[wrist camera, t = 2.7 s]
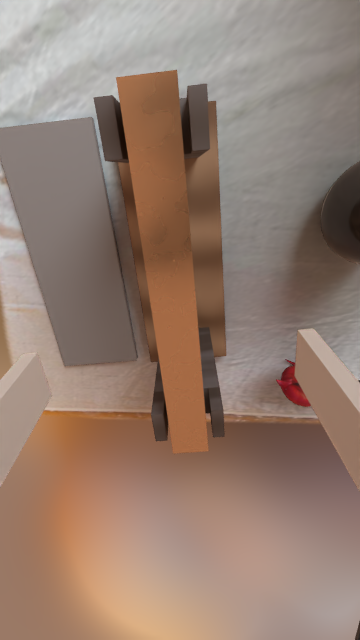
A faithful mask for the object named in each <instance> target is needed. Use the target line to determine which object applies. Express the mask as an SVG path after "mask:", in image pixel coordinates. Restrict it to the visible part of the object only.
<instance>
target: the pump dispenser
mask: <svg viewBox="0 0 360 640" xmlns="http://www.w3.org/2000/svg"><path fill="white" fill-rule="evenodd" d="M321 228H322V233H323V236H324V239H325V241H326V243H327V245H328V246H329V247H330V249H331V250H332V251H333V252H334V253H336V254H337V255H338V256H340V257H342V258H343V259H345V260H348V261H350V262H353V263H356V264H360V161H359V162H357V163H356V164H354V165H353V166H351V167H350V168H349V169H348V170H346V171H345V172H344V173H343V174H342V175H341V176H340V177H339V178H338V179H337V181H336V182H335V183H334V184H333V185H332V187H331V188H330V190H329V192H328V193H327V195H326V197H325V200H324V203H323V206H322V211H321Z"/></svg>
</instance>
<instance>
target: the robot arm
mask: <svg viewBox="0 0 360 640" xmlns="http://www.w3.org/2000/svg"><path fill="white" fill-rule="evenodd" d="M295 378H296V379H297V381H298V383H299V385H300V387H301V388H302V390H303V392H304V394H305V395H306V397H307V399H308V401H309V403H310V404H311V406H312V408H313V410H314V411H315V413H316V415H317V417H318V419H319V420H320V422H321V424H322V426H323V427H324V429H325V431H326V433H327V434H328V436H329V438H330V440H331V442H332V444H333V445H334V447H335V449H336V451H337V452H338V454H339V456H340V458H341V460H342V461H343V463H344V465H345V467H346V468H347V470H348V472H349V474H350V475H351V477H352V479H353V481H354V483H355V484H356V486H357V488H358V490H359V492H360V381H358V380H357V379H356V378H355V377H354V375H353V374H352V373H351V372H350V371H349V370H348V368H347V367H346V366H345V365H344V364H343V362H342V361H341V360H340V359H339V358H338V357H337V355H336V354H335V353H334V352H333V351H332V350H331V348H330V347H329V346H328V345H327V344H326V343H325V341H324V340H323V339H322V338H321V337H320V335H319V334H318V333H317V332H316V331H315V330H314V328H313V329H301V330H298V333H297V348H296V362H295ZM51 397H52V393H51V390H50V387H49V384H48V381H47V378H46V376H45V373H44V370H43V367H42V364H41V361H40V358H39V355H38V352H37V353H25V354H22V355H21V357H20V358H19V359H18V360H17V361H16V362H15V364H14V365H13V366H12V367H11V368H10V369H9V370H8V372H7V373H6V374H5V375H4V376H3V378H2V379H1V380H0V486H1V485H2V483H3V481H4V479H5V477H6V476H7V474H8V472H9V471H10V469H11V467H12V465H13V464H14V462H15V460H16V458H17V457H18V455H19V453H20V451H21V450H22V448H23V446H24V444H25V443H26V441H27V439H28V437H29V435H30V434H31V432H32V430H33V429H34V427H35V424H36V423H37V421H38V420H39V418H40V416H41V414H42V413H43V411H44V409H45V407H46V406H47V404H48V402H49V400H50V399H51ZM355 640H360V622H359V626H358V630H357V633H356V637H355Z"/></svg>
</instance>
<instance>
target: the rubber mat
mask: <svg viewBox="0 0 360 640" xmlns="http://www.w3.org/2000/svg"><path fill="white" fill-rule="evenodd" d="M0 159H1V162H2V166H3V169H4V172H5V175H6V178H7V182H8V185H9V188H10V191H11V194H12V198H13V201H14V204H15V207H16V211H17V214H18V217H19V220H20V223H21V227H22V230H23V233H24V236H25V240H26V243H27V246H28V249H29V252H30V256H31V259H32V262H33V265H34V269H35V272H36V275H37V278H38V281H39V285H40V288H41V291H42V294H43V298H44V301H45V304H46V307H47V310H48V314H49V317H50V320H51V323H52V327H53V330H54V333H55V336H56V339H57V343H58V346H59V349H60V352H61V356H62V359H63V362H64V365H65V366H72V365H85V364H97V363H110V362H122V361H134V360H137V358H138V356H137V351H136V346H135V340H134V335H133V329H132V324H131V319H130V313H129V308H128V303H127V297H126V292H125V286H124V281H123V276H122V270H121V265H120V260H119V254H118V249H117V244H116V238H115V233H114V227H113V222H112V217H111V211H110V206H109V201H108V195H107V190H106V185H105V179H104V174H103V168H102V163H101V158H100V152H99V147H98V142H97V136H96V131H95V125H94V120H93V118H92V117H88V118H79V119H71V120H63V121H54V122H46V123H38V124H29V125H21V126H13V127H4V128H0Z"/></svg>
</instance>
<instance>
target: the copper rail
mask: <svg viewBox="0 0 360 640" xmlns="http://www.w3.org/2000/svg"><path fill="white" fill-rule="evenodd" d="M116 80H117V86H118V93H119V99H120V106H121V113H122V119H123V126H124V132H125V139H126V145H127V152H128V159H129V165H130V172H131V178H132V185H133V192H134V198H135V205H136V211H137V218H138V224H139V231H140V238H141V244H142V251H143V257H144V264H145V271H146V277H147V284H148V290H149V297H150V304H151V310H152V317H153V323H154V330H155V336H156V343H157V350H158V356H159V363H160V369H161V376H162V383H163V389H164V396H165V402H166V409H167V415H168V422H169V429H170V435H171V442H172V448H173V453H188V452H204V451H208V441H207V440H208V439H207V428H206V415H205V403H204V391H203V379H202V367H201V355H200V343H199V331H198V319H197V307H196V295H195V283H194V270H193V258H192V246H191V234H190V222H189V210H188V198H187V186H186V174H185V162H184V150H183V138H182V126H181V113H180V101H179V89H178V77H177V70H172V71H164V72H156V73H148V74H140V75H132V76H124V77H116Z"/></svg>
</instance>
